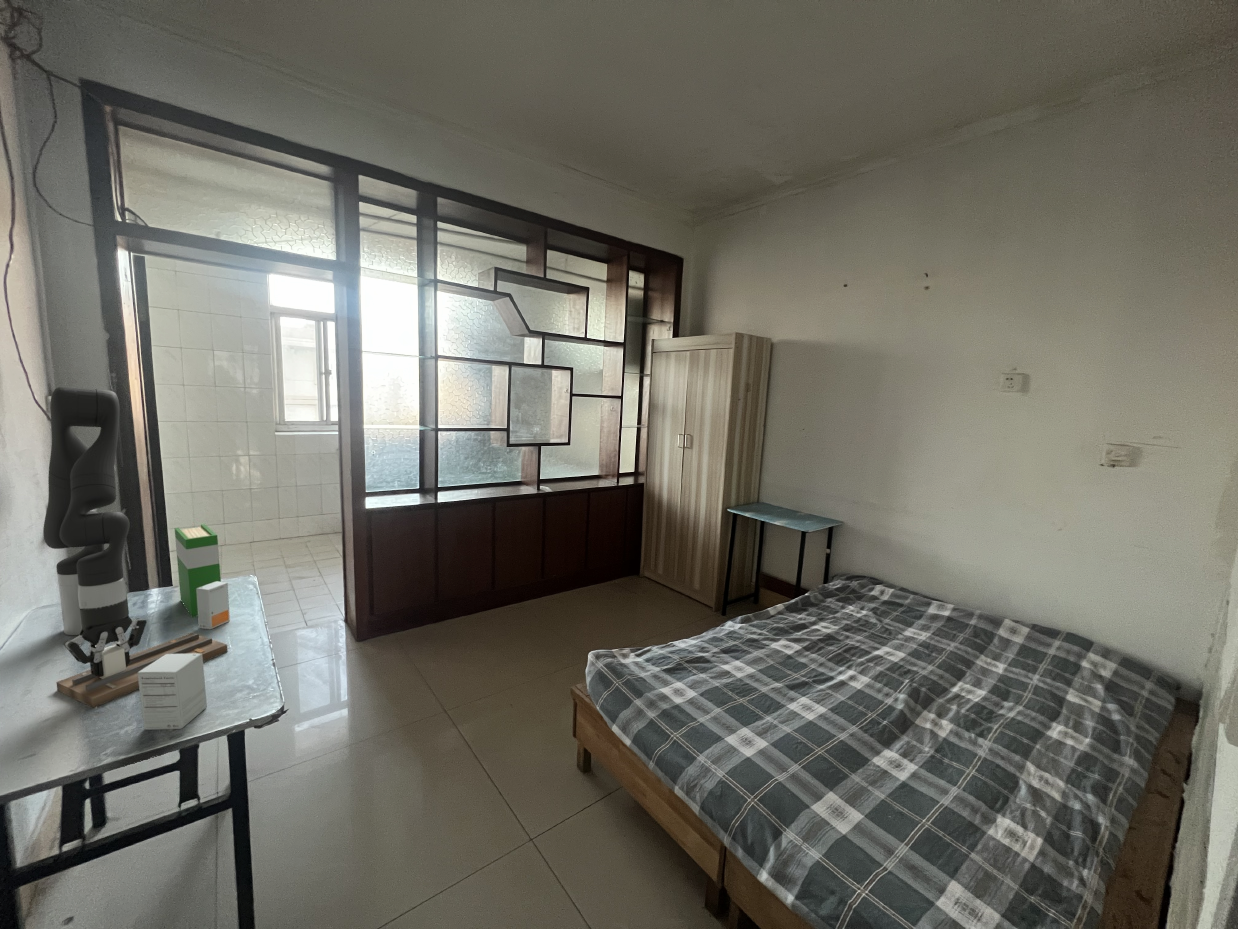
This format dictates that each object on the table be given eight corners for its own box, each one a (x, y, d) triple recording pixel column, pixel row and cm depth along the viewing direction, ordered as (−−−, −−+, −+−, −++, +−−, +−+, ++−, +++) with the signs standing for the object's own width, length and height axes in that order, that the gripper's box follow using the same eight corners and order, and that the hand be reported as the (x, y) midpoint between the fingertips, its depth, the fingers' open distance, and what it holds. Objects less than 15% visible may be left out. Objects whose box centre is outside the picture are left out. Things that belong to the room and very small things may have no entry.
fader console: (57, 690, 111) (55, 677, 110) (192, 639, 135) (191, 628, 134) (93, 707, 105) (91, 693, 105) (227, 651, 129) (226, 640, 129)
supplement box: (171, 708, 106) (166, 652, 104) (208, 707, 107) (203, 652, 105) (141, 730, 99) (135, 672, 97) (181, 729, 100) (176, 671, 98)
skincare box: (210, 630, 140) (207, 590, 139) (198, 628, 141) (195, 588, 140) (231, 621, 146) (228, 582, 145) (219, 619, 147) (216, 580, 146)
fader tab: (96, 676, 113) (94, 651, 112) (116, 668, 116) (114, 644, 115) (106, 680, 111) (103, 655, 110) (126, 672, 114) (124, 648, 114)
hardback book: (180, 600, 159) (174, 528, 156) (210, 594, 165) (204, 524, 162) (191, 617, 148) (185, 539, 145) (222, 609, 153) (217, 535, 150)
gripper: (134, 586, 119) (140, 653, 121) (50, 608, 106) (59, 683, 108) (152, 592, 116) (158, 660, 119) (68, 615, 103) (77, 691, 105)
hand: (111, 671), depth 113 cm, fingers closed on fader tab, 3 cm apart
